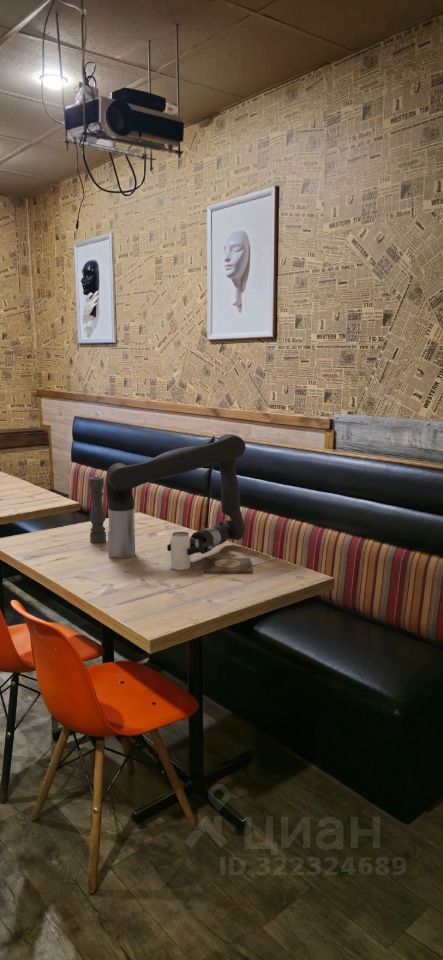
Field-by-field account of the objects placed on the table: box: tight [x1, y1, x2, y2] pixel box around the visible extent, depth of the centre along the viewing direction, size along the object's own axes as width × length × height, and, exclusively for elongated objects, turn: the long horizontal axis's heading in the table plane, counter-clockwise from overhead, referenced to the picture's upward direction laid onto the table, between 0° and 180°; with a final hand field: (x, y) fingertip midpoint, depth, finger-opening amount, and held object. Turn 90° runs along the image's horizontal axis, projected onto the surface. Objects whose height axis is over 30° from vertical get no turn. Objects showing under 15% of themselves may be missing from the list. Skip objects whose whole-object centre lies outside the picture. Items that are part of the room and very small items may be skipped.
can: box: [170, 531, 191, 571], centre depth 227 cm, size 6×6×12 cm
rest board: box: [203, 557, 253, 574], centre depth 229 cm, size 16×14×1 cm
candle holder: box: [88, 476, 107, 544], centre depth 258 cm, size 6×6×25 cm
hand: (178, 550), depth 226 cm, fingers open, 8 cm apart
